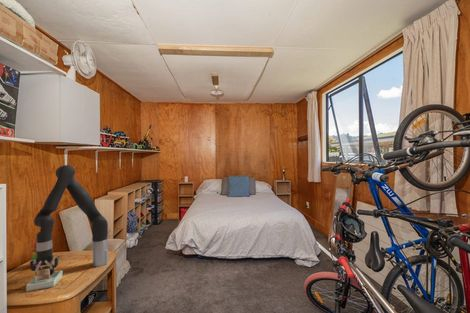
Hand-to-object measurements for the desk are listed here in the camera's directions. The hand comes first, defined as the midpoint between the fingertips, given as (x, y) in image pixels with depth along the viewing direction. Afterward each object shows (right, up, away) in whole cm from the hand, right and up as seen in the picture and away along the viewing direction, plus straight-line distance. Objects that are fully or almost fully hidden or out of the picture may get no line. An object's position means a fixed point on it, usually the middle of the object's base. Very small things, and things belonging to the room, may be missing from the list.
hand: (45, 275), depth 136 cm
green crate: (0, -5, 0) cm, 5 cm away
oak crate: (0, -1, 0) cm, 1 cm away
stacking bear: (-23, -5, +24) cm, 33 cm away
